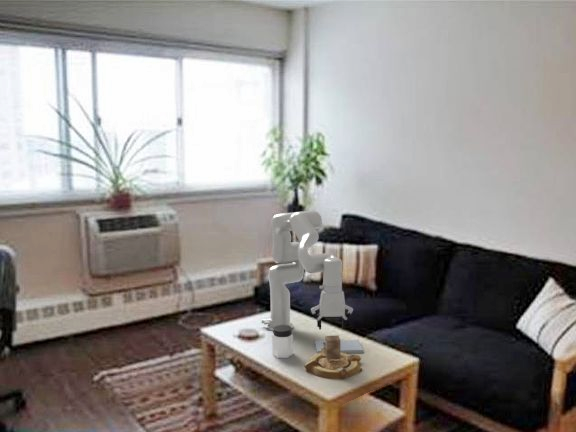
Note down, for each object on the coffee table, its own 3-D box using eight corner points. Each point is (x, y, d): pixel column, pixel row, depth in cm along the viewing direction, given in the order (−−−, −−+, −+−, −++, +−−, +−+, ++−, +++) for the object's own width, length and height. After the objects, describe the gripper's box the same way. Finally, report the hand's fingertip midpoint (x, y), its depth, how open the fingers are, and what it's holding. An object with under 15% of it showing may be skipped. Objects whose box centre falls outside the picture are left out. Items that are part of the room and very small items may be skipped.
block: (326, 359, 229) (326, 340, 228) (325, 354, 235) (325, 335, 233) (340, 359, 229) (340, 340, 228) (338, 353, 235) (338, 335, 234)
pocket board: (317, 354, 245) (317, 350, 245) (314, 343, 257) (314, 340, 256) (363, 353, 246) (363, 349, 245) (358, 342, 257) (358, 339, 257)
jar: (293, 350, 249) (292, 324, 247) (293, 358, 241) (292, 331, 239) (272, 350, 249) (272, 324, 247) (272, 358, 241) (271, 331, 239)
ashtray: (292, 366, 234) (292, 355, 233) (334, 352, 249) (334, 341, 248) (330, 387, 216) (330, 374, 215) (374, 370, 230) (374, 358, 229)
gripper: (311, 291, 224) (311, 332, 227) (355, 291, 225) (353, 331, 228) (310, 285, 231) (309, 325, 234) (352, 285, 232) (351, 324, 235)
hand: (331, 328), depth 231 cm, fingers open, 9 cm apart
